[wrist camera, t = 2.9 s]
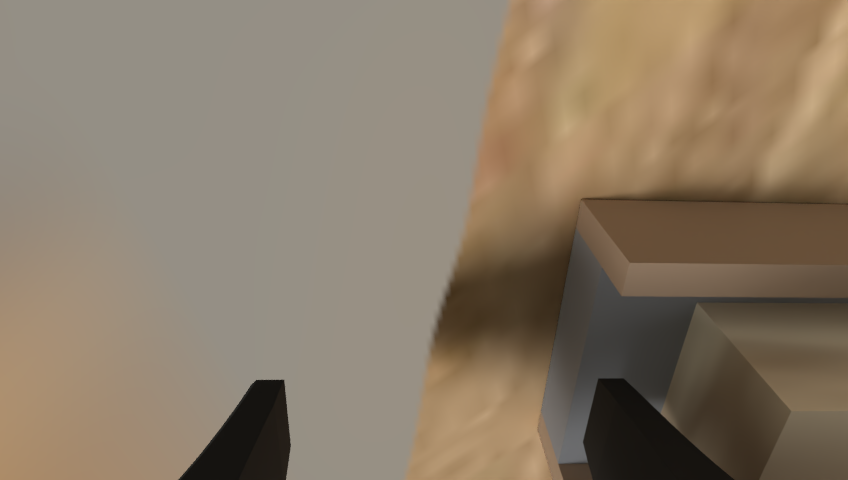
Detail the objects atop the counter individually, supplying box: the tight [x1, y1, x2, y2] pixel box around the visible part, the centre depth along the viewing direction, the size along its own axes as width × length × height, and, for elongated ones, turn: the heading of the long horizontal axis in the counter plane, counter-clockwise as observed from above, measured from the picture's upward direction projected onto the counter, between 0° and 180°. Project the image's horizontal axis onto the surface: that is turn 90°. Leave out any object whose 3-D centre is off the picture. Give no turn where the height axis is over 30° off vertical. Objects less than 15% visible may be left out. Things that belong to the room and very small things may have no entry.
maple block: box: [661, 303, 848, 480], centre depth 13 cm, size 4×4×4 cm
